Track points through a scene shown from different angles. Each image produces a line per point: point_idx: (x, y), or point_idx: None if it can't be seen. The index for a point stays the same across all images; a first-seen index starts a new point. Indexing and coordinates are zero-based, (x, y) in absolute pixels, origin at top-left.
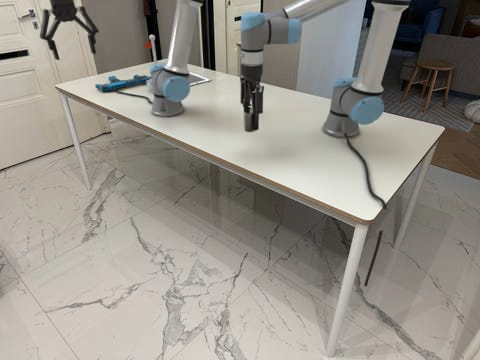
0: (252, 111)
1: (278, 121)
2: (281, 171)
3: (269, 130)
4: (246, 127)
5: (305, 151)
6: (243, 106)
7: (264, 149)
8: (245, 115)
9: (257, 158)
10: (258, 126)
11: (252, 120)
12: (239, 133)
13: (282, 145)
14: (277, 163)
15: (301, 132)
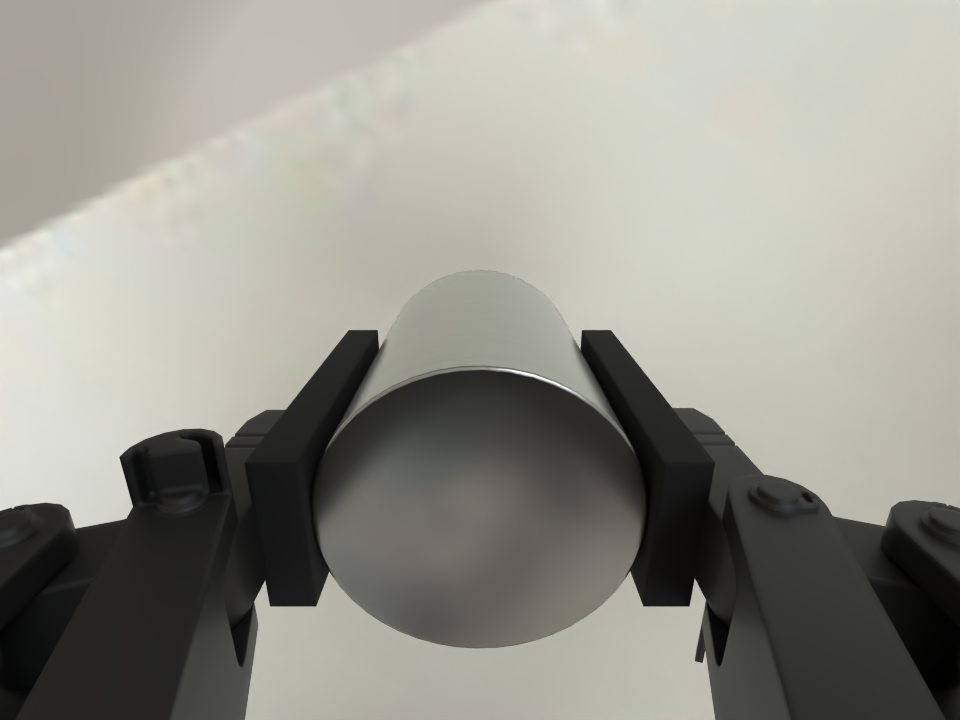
0: (444, 539)
1: None
2: (121, 354)
3: None
4: (432, 293)
5: (330, 614)
6: (750, 484)
7: None
8: (438, 348)
9: (364, 291)
10: None
11: (299, 399)
12: (835, 364)
13: None
14: (239, 386)
15: (574, 715)
